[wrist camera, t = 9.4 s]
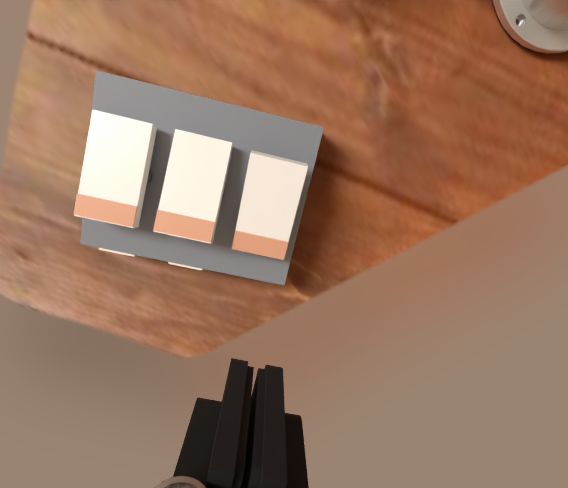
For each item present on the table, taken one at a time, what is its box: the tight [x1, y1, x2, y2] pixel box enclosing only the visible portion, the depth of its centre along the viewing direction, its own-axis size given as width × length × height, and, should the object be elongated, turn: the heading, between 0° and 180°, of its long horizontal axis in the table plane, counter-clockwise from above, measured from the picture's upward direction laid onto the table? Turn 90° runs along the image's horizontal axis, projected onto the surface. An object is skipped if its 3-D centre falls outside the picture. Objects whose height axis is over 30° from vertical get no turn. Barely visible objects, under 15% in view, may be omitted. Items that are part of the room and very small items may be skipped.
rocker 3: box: [232, 150, 308, 260], centre depth 28 cm, size 4×8×1 cm, turn 167°
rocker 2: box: [153, 129, 233, 244], centre depth 28 cm, size 4×8×1 cm, turn 167°
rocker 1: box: [74, 110, 157, 228], centre depth 27 cm, size 4×8×1 cm, turn 167°
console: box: [80, 70, 324, 285], centre depth 31 cm, size 18×14×5 cm
